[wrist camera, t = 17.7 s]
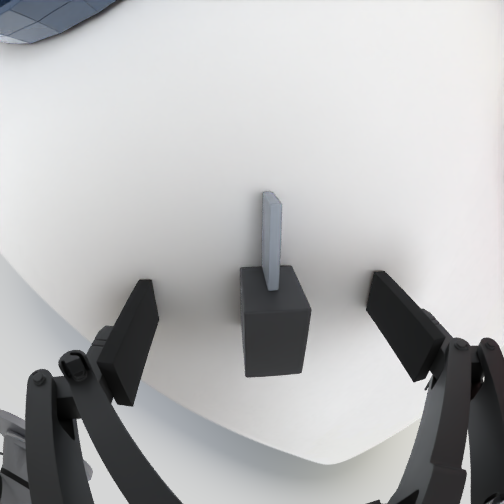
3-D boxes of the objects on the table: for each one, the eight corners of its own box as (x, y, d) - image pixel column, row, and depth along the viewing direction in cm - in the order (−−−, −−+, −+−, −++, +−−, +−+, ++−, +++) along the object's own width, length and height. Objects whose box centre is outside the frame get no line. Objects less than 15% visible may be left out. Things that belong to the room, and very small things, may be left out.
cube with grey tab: (287, 324, 17) (302, 373, 13) (241, 326, 16) (245, 378, 13) (296, 191, 14) (322, 213, 10) (238, 191, 13) (242, 214, 9)
